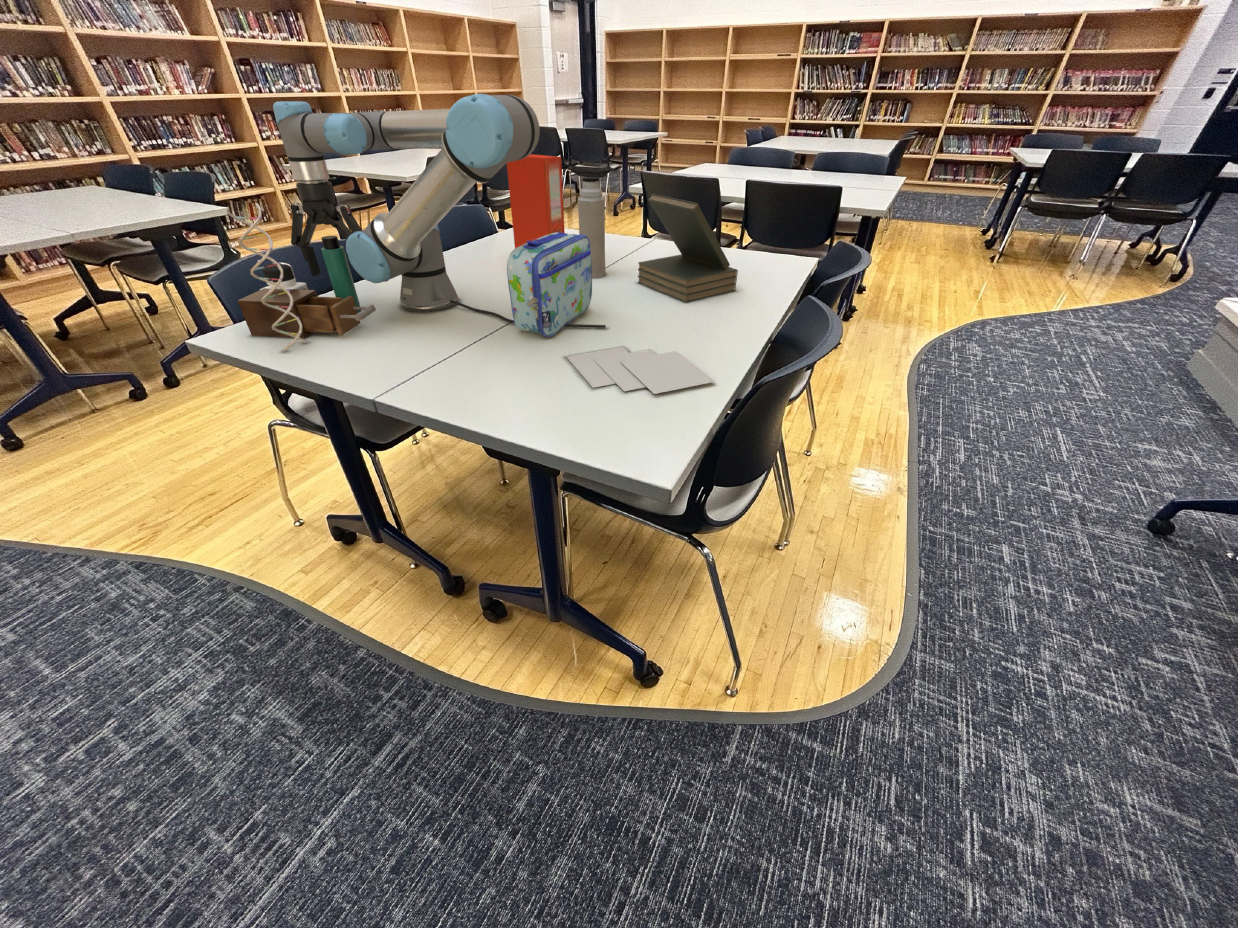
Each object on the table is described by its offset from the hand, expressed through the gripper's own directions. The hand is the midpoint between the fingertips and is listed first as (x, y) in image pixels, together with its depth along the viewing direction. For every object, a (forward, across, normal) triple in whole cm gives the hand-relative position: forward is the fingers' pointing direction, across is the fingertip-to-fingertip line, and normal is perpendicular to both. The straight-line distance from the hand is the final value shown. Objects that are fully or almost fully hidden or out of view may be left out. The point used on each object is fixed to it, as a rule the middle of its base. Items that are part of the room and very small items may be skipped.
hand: (340, 275), depth 136 cm
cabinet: (+10, +8, +14) cm, 19 cm away
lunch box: (+9, -56, +2) cm, 57 cm away
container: (+10, +14, +4) cm, 17 cm away
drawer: (+9, -5, +14) cm, 17 cm away
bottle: (+10, 0, 0) cm, 10 cm away
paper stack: (+9, -79, +28) cm, 84 cm away
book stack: (+9, -89, -33) cm, 96 cm away
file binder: (+10, -38, -59) cm, 71 cm away
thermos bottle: (+9, -59, -43) cm, 74 cm away
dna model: (+10, 0, +24) cm, 26 cm away
